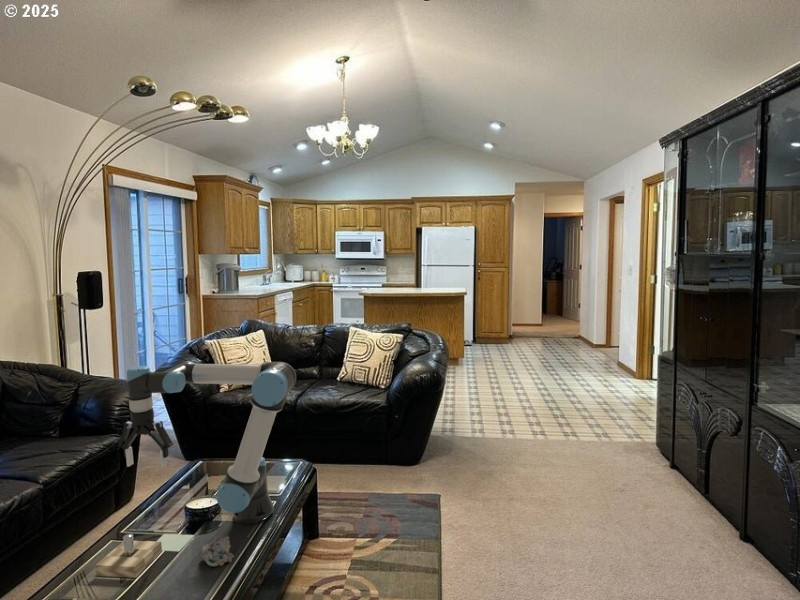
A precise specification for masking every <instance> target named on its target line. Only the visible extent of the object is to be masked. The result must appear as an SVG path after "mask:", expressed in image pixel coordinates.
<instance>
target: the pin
mask: <svg viewBox="0 0 800 600" xmlns="http://www.w3.org/2000/svg"><path fill="white" fill-rule="evenodd" d="M134 541H135V540H134V534H133V533H127V534H124V535H123V536H122V542H123V544H124V553H125V557H132V556H133V555H134V554H135V549H134Z"/></svg>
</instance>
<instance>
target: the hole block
mask: <svg viewBox="0 0 800 600" xmlns="http://www.w3.org/2000/svg"><path fill="white" fill-rule="evenodd" d="M156 541H157V540H156ZM156 541H151V540H134V549H135V554H134V555H133V556H132V557H125V553H124V544H123V541H121V543H119V544H118V545H117V546H116V547H115V548H114V549H112V550H111V551H109V553H108V554H107V555H105V556H104V557H103V558H102V559H101V560H99V561H98V562H97V563H96V564H95V573H96V575H95V576H97V577H114V578H115V577H116V578H117V577H118V578H137V577H138V576H139V575H141V574H142V573H143V571H144V570H146V568H147V567H149V566H150V565H151V564H152V562H153V561H155V559H157V557H158V556H160V555H161V553H163V551H162V545H161V542H156Z"/></svg>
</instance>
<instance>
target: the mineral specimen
mask: <svg viewBox="0 0 800 600" xmlns="http://www.w3.org/2000/svg"><path fill="white" fill-rule="evenodd" d="M231 549H232V544H231V537H230V536H229V535H228V536H223V537H220V538H214V539H212V541H210V542H209V543H207V544H205V545H204V546H202V549H201V553H202V555H201V559H202V560H203V561H204V562H205V563H206V564H207V565H208V566H209V567H218V566H220V567H221V566H222V567H223V566H224V564H225V563H230V564H231V563H232V560H233V558H234V556H235V555H234V554H233V553H232V552H231Z"/></svg>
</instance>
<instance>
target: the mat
mask: <svg viewBox="0 0 800 600" xmlns="http://www.w3.org/2000/svg"><path fill="white" fill-rule="evenodd" d="M194 536H195V534H180V533H179V534H177V533H175V534H174V533H164V534H163V535H161V537H159V538H158V539H157V540H156V542H161V545H162V552H164V551H165V552H180V551H181V550H182V549H183V548H184V546H186V545H187V544H188V542H189V541H191V540H192V539H193V537H194Z"/></svg>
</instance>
